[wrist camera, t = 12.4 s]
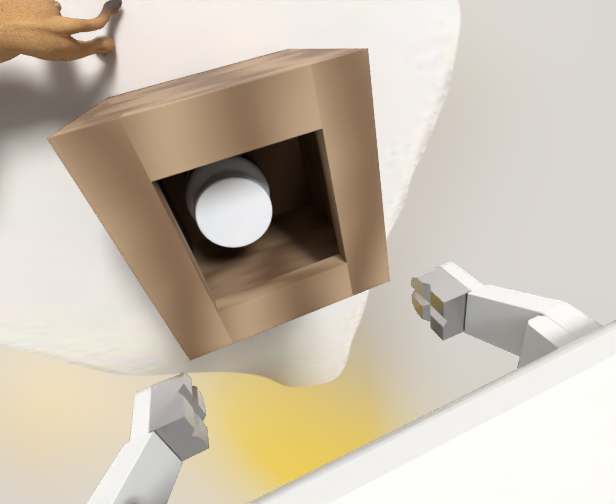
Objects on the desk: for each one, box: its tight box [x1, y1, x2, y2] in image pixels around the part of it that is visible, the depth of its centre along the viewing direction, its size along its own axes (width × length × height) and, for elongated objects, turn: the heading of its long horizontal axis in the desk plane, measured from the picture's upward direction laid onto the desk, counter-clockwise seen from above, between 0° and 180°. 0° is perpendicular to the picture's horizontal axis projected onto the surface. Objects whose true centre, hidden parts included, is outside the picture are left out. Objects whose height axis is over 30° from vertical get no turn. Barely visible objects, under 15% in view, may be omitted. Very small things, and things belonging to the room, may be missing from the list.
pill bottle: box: [184, 151, 272, 247], centre depth 25 cm, size 6×6×10 cm
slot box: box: [47, 49, 390, 360], centre depth 24 cm, size 14×14×14 cm
